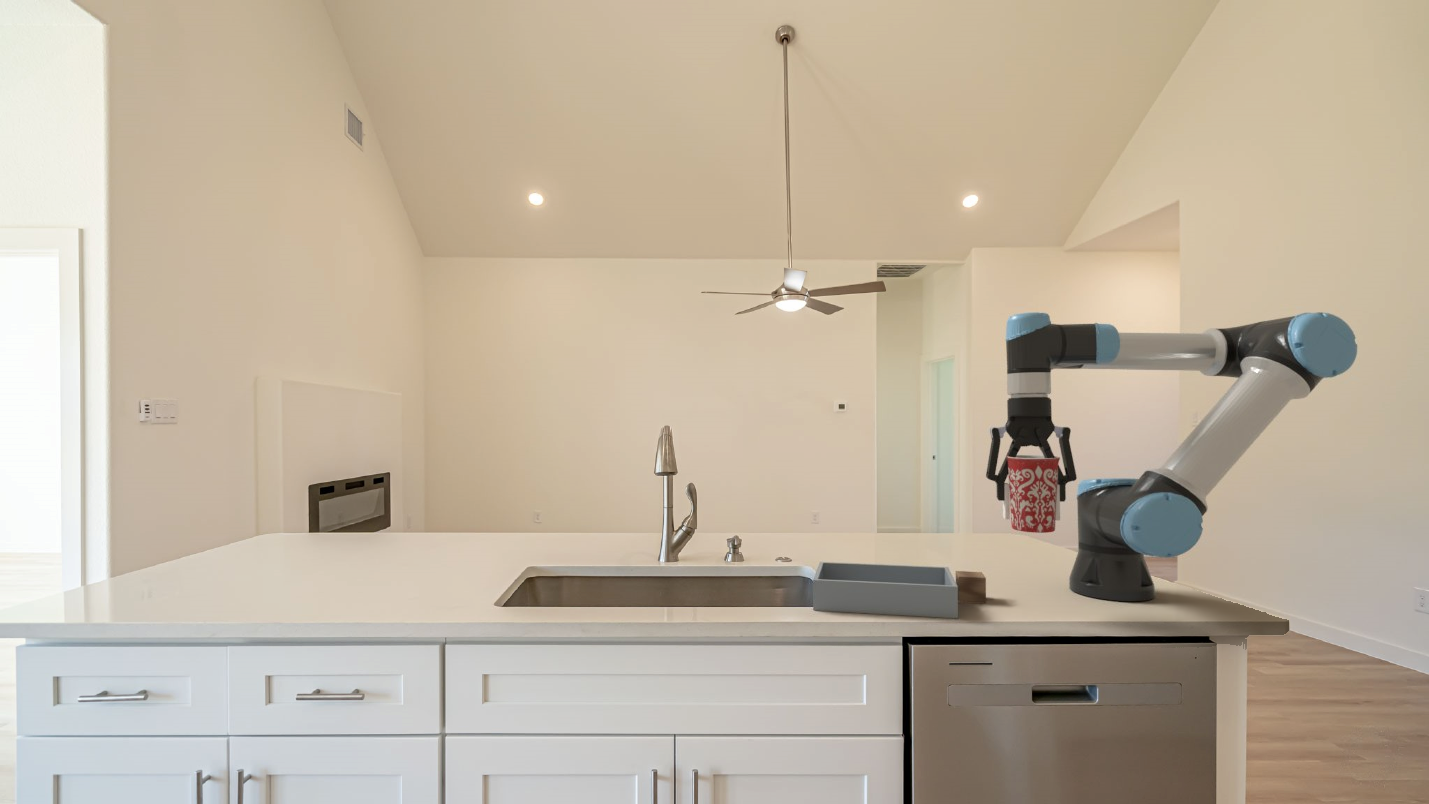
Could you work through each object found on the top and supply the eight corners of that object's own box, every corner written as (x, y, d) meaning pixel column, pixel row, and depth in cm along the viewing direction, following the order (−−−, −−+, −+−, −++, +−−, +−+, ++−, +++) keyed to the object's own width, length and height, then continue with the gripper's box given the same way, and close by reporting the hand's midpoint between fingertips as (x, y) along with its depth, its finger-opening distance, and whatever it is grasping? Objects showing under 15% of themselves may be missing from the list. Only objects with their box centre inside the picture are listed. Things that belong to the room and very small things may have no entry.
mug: (1068, 534, 125) (1067, 457, 125) (1015, 533, 126) (1014, 457, 126) (1045, 523, 138) (1043, 453, 138) (996, 522, 139) (995, 453, 139)
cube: (982, 597, 141) (981, 572, 141) (985, 603, 136) (985, 577, 136) (955, 595, 142) (955, 570, 142) (958, 602, 137) (958, 576, 137)
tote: (948, 595, 142) (948, 567, 142) (957, 618, 126) (957, 586, 126) (820, 588, 148) (819, 561, 148) (813, 610, 132) (813, 579, 132)
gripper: (1083, 396, 134) (1086, 517, 133) (967, 397, 138) (969, 514, 138) (1095, 395, 126) (1098, 523, 126) (972, 396, 131) (974, 520, 131)
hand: (1031, 518), depth 132 cm, fingers closed on mug, 8 cm apart
